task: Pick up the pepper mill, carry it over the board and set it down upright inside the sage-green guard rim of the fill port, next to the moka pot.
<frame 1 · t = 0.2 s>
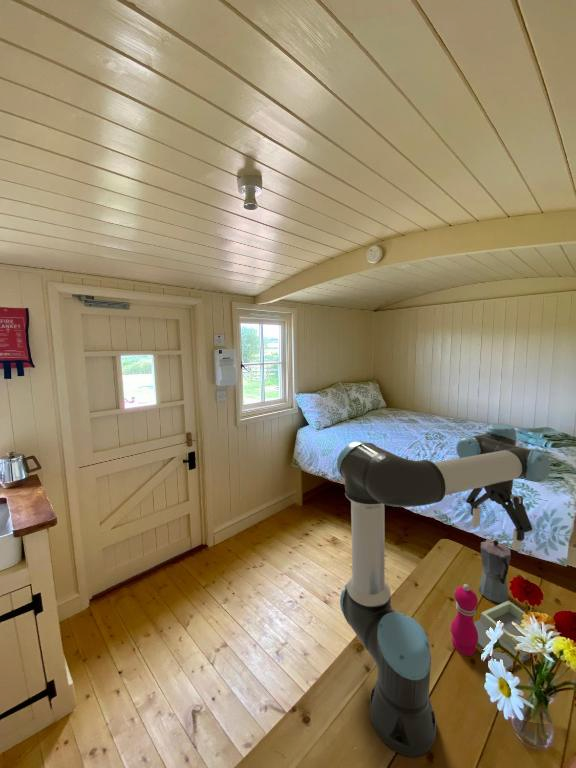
hand: (494, 536, 105), 28 cm above the table, fingers open, 13 cm apart
moka pot: (494, 595, 116), on the table
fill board: (505, 638, 99), on the table
pepper mill: (463, 646, 97), on the table
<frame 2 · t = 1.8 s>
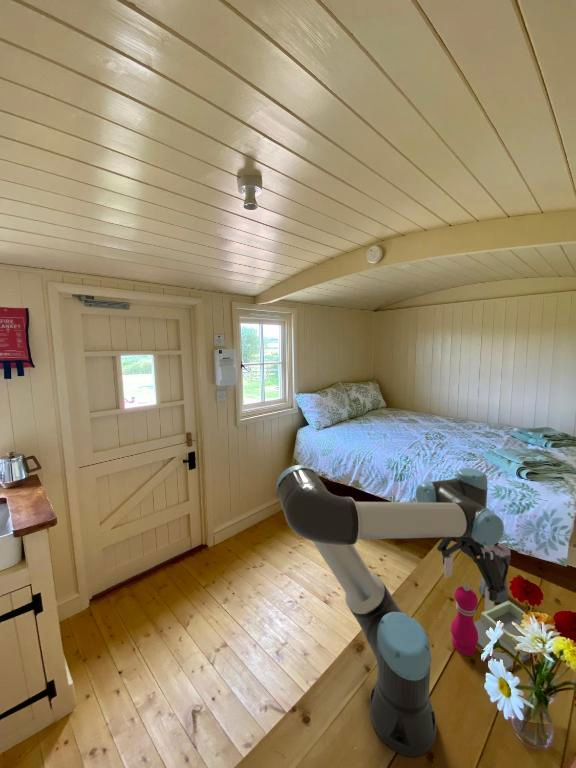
hand: (467, 591, 95), 18 cm above the table, fingers open, 13 cm apart
nothing on the table moved.
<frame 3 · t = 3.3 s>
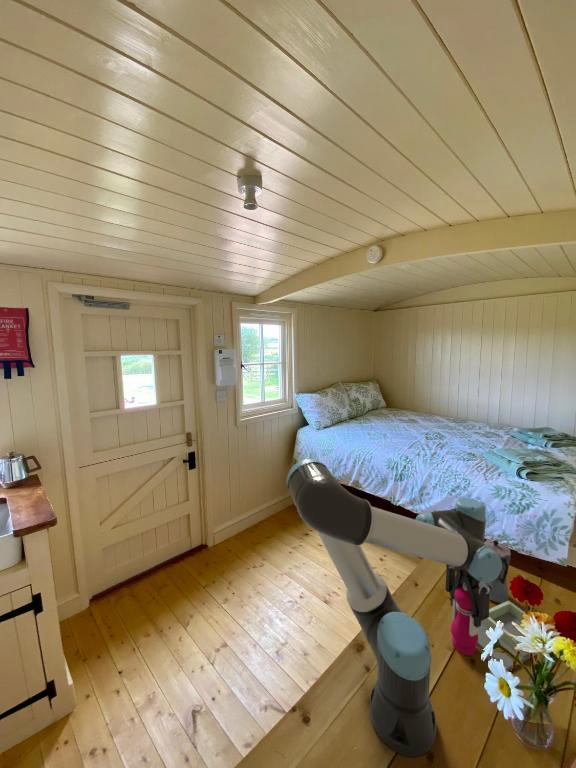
hand: (464, 625, 96), 7 cm above the table, fingers closed on pepper mill, 5 cm apart
pepper mill: (463, 646, 97), on the table, touching gripper
everything else where it was.
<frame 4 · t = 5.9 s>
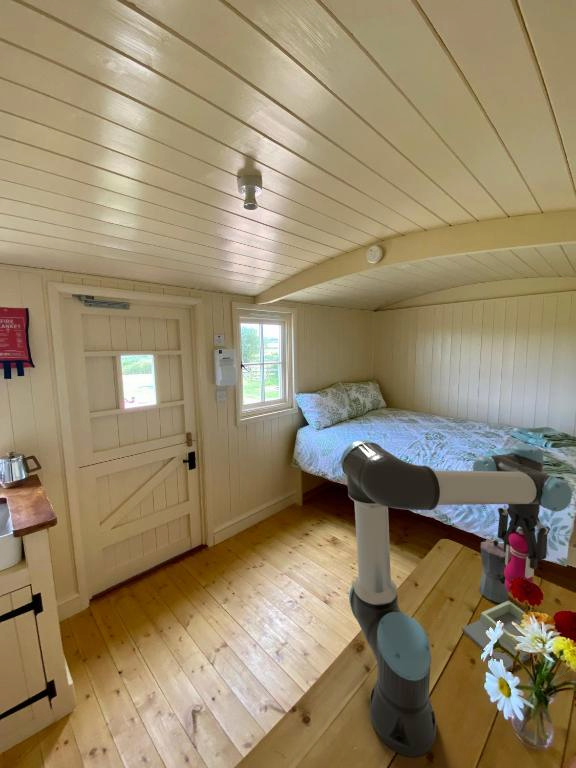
hand: (518, 569, 98), 22 cm above the table, fingers closed on pepper mill, 5 cm apart
pepper mill: (517, 590, 99), point 15 cm above the table, touching gripper
everything else where it was.
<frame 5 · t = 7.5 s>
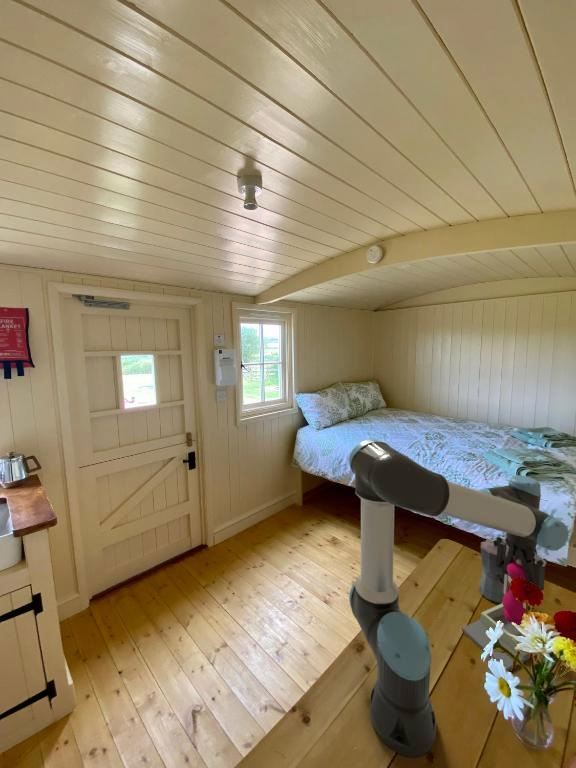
hand: (517, 599, 99), 12 cm above the table, fingers closed on pepper mill, 5 cm apart
pepper mill: (515, 619, 100), point 5 cm above the table, touching gripper
everything else where it was.
when the fingers open (9 cm above the table, at t = 8.5 s): pepper mill stays where it is, resting on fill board.
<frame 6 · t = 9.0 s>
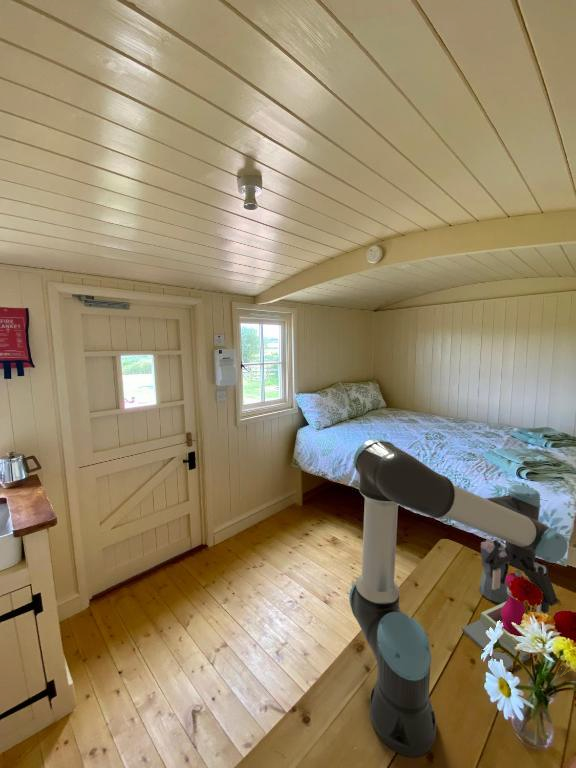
hand: (516, 603, 99), 10 cm above the table, fingers open, 13 cm apart
pepper mill: (514, 631, 101), point 1 cm above the table, touching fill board
everything else where it was.
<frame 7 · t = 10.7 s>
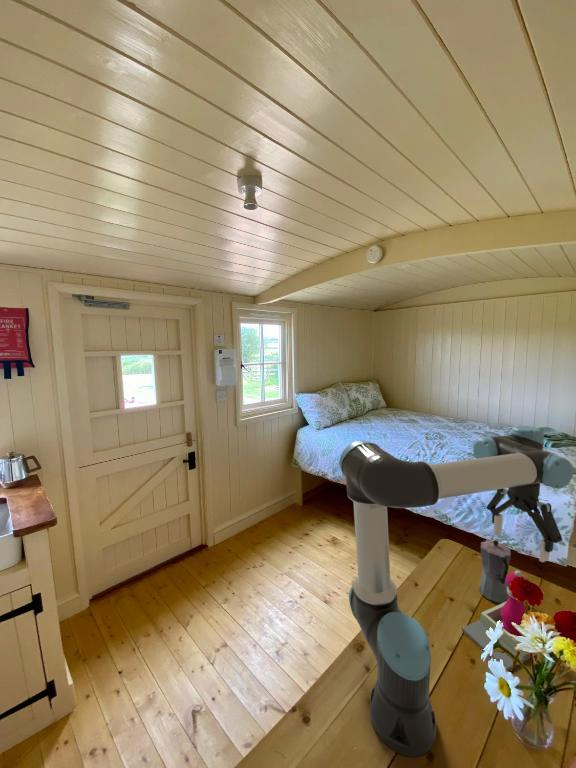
hand: (519, 546, 97), 29 cm above the table, fingers open, 13 cm apart
nothing on the table moved.
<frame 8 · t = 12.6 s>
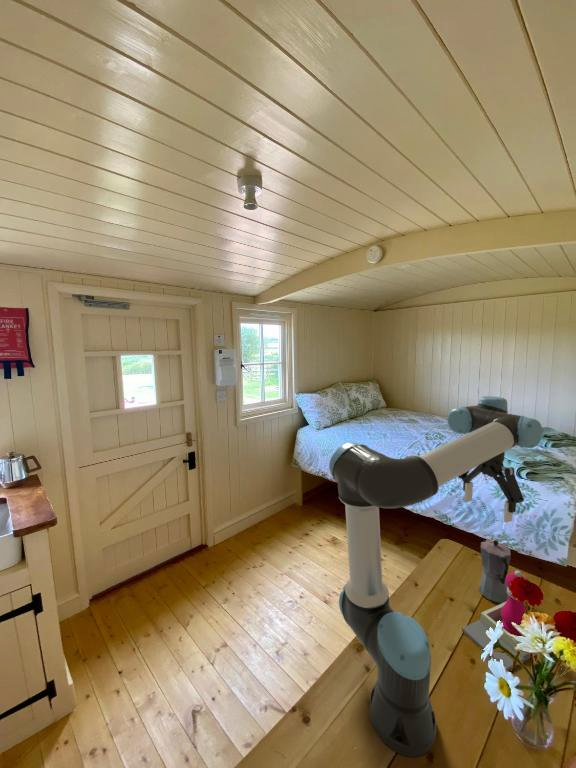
hand: (486, 510, 103), 37 cm above the table, fingers open, 13 cm apart
nothing on the table moved.
at the end: pepper mill inside the target area (0.1 cm from its centre), point 0.8 cm above the table; pepper mill tilted 0°; the gripper is holding nothing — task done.
